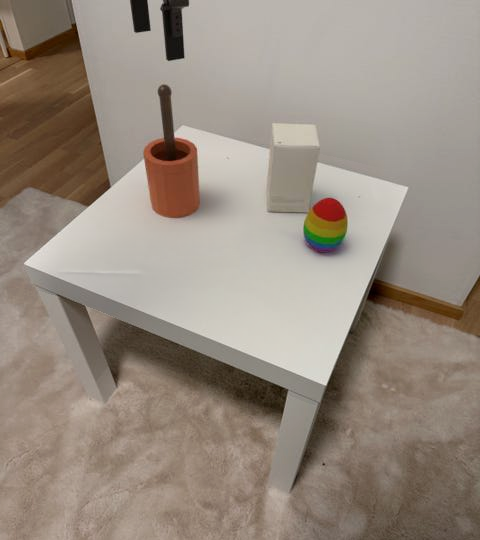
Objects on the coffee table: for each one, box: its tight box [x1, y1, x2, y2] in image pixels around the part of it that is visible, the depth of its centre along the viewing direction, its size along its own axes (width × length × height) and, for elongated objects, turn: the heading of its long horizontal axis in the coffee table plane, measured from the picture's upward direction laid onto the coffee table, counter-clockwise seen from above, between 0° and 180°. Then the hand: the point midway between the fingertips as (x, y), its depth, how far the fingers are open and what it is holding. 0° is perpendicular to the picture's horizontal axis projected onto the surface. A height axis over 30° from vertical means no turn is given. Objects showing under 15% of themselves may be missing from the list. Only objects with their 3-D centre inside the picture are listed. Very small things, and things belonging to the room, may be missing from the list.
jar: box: [142, 137, 201, 219], centre depth 90 cm, size 10×10×12 cm
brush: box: [157, 84, 177, 161], centre depth 85 cm, size 4×4×23 cm
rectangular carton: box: [266, 122, 321, 214], centre depth 90 cm, size 9×9×15 cm
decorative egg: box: [302, 197, 349, 253], centre depth 83 cm, size 8×8×10 cm
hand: (158, 44), depth 71 cm, fingers open, 13 cm apart
